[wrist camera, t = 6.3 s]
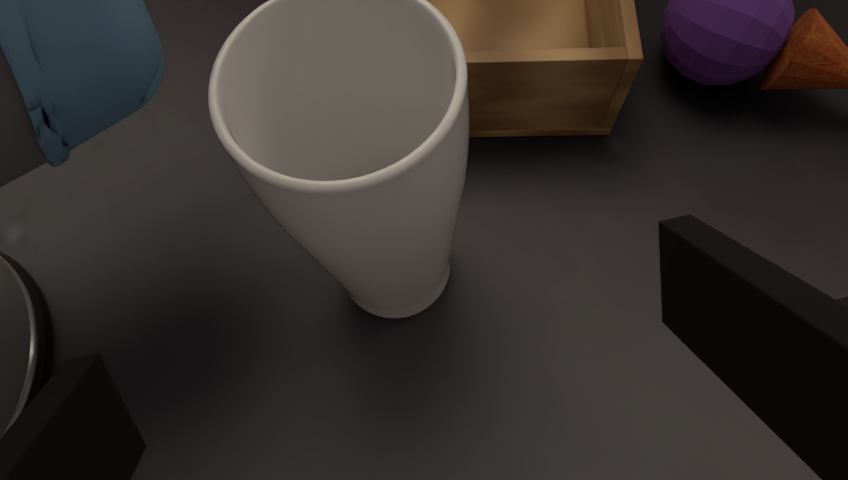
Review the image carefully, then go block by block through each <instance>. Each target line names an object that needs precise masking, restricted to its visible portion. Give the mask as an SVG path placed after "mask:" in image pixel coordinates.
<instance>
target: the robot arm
mask: <svg viewBox="0 0 848 480" xmlns="http://www.w3.org/2000/svg"><path fill="white" fill-rule="evenodd" d="M163 70H164V56H163V50H162V45H161V42H160V39H159V36H158V34H157V32H156V29H155V27H154V24H153V22H152V20H151V18H150V15H149V13H148V11H147V8H146V6H145V4H144V2H143V0H0V187H2V186H3V185H5V184H7V183H9V182H11V181H13V180H15V179H17V178H18V177H20V176H22V175H24V174H26V173H28V172H30V171H31V170H33V169H35V168H37V167H39V166H41V165H43V164H45V163H46V162H48V163H49V165H51V166H53V167H57V166H59V165H61V164H63V163H64V162H65V161H67V160H68V158H69V152H70V151H71V150H72V149H74V148H75V147H77V146H79V145H80V144H82V143H84V142H85V141H87V140H89V139H90V138H92V137H94V136H96V135H97V134H99V133H101V132H102V131H104V130H106V129H107V128H109V127H111V126H112V125H114V124H116V123H118V122H119V121H121V120H123V119H124V118H126V117H128V116H129V115H131V114H133V113H134V112H136V111H138V110H139V109H141V108H142V107H143V106H144V105H145V104H147V103H148V102H149V101H150V100H151V98H152V97H153V96H154V94H155V93H156V91H157V90H158V88H159V85H160V82H161V80H162V74H163ZM659 247H660V273H661V298H662V322H663V323H664V324H665V325H666V326H667V327H668V328H669V329H670V330H671V331H672V332H673V333H674V334H675V335H676V336H677V337H678V338H679V339H680V340H681V341H682V342H683V343H684V344H685V345H686V346H687V347H688V348H689V349H690V350H691V351H692V352H693V353H694V354H695V355H696V356H697V357H698V358H699V359H700V360H701V361H702V362H703V363H705V364H706V365H707V366H708V367H709V368H710V369H711V370H712V371H713V372H714V373H715V374H716V375H717V376H718V377H719V378H720V379H721V380H722V381H723V382H724V383H725V384H726V385H727V386H728V387H729V388H730V389H731V390H732V391H733V392H734V393H735V394H736V395H737V396H738V397H739V398H740V399H741V400H742V401H743V402H744V403H745V404H746V405H747V406H748V407H749V408H750V409H751V410H752V411H753V412H754V413H755V414H756V415H757V416H758V417H759V418H760V419H761V420H762V421H763V422H764V423H765V424H766V425H767V426H768V427H769V428H770V429H771V430H772V431H773V432H774V433H775V434H776V435H777V436H778V437H779V438H780V439H781V440H782V441H783V442H784V443H785V444H787V445H788V446H789V447H790V448H791V449H792V450H793V451H794V452H795V453H796V454H797V455H798V456H799V457H800V458H801V459H802V460H803V461H804V462H805V463H806V464H807V465H808V466H809V467H810V468H811V469H812V470H813V471H814V472H815V473H816V474H817V475H818V476H819V477H820V478H821V479H822V480H848V297H845V298H841V299H836V300H835V299H833V298H832V297H830V296H828V295H827V294H825V293H823V292H821V291H820V290H818V289H816V288H815V287H813V286H811V285H810V284H808V283H806V282H804V281H803V280H801V279H799V278H798V277H796V276H794V275H792V274H791V273H789V272H787V271H786V270H784V269H782V268H781V267H779V266H777V265H775V264H774V263H772V262H770V261H769V260H767V259H765V258H764V257H762V256H760V255H758V254H757V253H755V252H753V251H752V250H750V249H748V248H746V247H745V246H743V245H741V244H740V243H738V242H736V241H735V240H733V239H731V238H729V237H728V236H726V235H724V234H723V233H721V232H719V231H718V230H716V229H714V228H712V227H711V226H709V225H707V224H706V223H704V222H702V221H700V220H699V219H697V218H695V217H694V216H692V215H690V214H689V215H685V216H681V217H677V218H672V219H668V220H664V221H660V222H659ZM51 360H52V331H51V324H50V318H49V314H48V310H47V307H46V304H45V301H44V299H43V297H42V294H41V292H40V290H39V288H38V287H37V285H36V284H35V282H34V280H33V279H32V278H31V276H30V275H29V274H28V273H27V272H26V270H25V269H23V268H22V267H21V266H20V265H19V264H18V263H17V262H16V261H14V260H13V259H12V258H10V257H9V256H7V255H6V254H4V253H2V252H0V480H130V479H131V477H132V475H133V473H134V471H135V469H136V467H137V465H138V463H139V461H140V459H141V456H142V454H143V452H144V450H145V448H146V444H145V443H144V441H143V439H142V437H141V435H140V433H139V431H138V429H137V427H136V425H135V423H134V421H133V419H132V417H131V415H130V413H129V411H128V409H127V407H126V405H125V403H124V401H123V399H122V397H121V396H120V394H119V392H118V390H117V388H116V386H115V384H114V382H113V380H112V378H111V376H110V374H109V372H108V370H107V368H106V366H105V364H104V362H103V360H102V358H101V356H100V354H99V353H98V354H93V355H89V356H85V357H81V358H76V359H72V360H68V361H65V362H64V363H63V364H62V365H61V367H60V368H59V369H58V370H57V371H56V373H55V374H54V375H53V376H52V377H51V379H50V380H49V381H48V379H49V375H50V368H51Z"/></svg>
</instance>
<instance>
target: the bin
mask: <svg viewBox="0 0 848 480" xmlns="http://www.w3.org/2000/svg"><path fill="white" fill-rule="evenodd" d="M427 1H428V2H430V3H431V4H432V5H433V6H435V7H436V8H437V9H438V10H439V11H440V12H441V13H442V14H443V15H444V16H445V17H446V19H447V20H448V21H449V23H450V24H451V25H452V27H453V28H454V30H455V32H456V33H457V35H458V37H459V40H460V42H461V44H462V47H463V50H464V54H465V58H466V64H467V76H468V78H467V81H468V97H469V137H510V136H572V135H609V134H610V132H611V130H612V127H613V125H614V123H615V121H616V118H617V116H618V114H619V112H620V109H621V107H622V105H623V103H624V101H625V98H626V96H627V94H628V92H629V89H630V87H631V85H632V83H633V81H634V78H635V76H636V74H637V72H638V70H639V67H640V65H641V63H642V61H643V53H642V47H641V41H640V34H639V28H638V22H637V16H636V10H635V4H634V0H427Z"/></svg>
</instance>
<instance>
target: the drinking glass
mask: <svg viewBox="0 0 848 480" xmlns="http://www.w3.org/2000/svg"><path fill="white" fill-rule="evenodd" d="M467 78H468V76H467V64H466V58H465V54H464V50H463V47H462V44H461V42H460V40H459V37H458V35H457V33H456V32H455V30H454V28H453V27H452V25H451V24H450V23H449V21H448V20H447V19H446V17H445V16H444V15H443V14H442V13H441V12H440V11H439V10H438V9H437V8H436V7H435V6H433V5H432V4H431V3H430V2H428V1H427V0H268V1H267V2H265V3H264V4H262V5H261V6H259V7H258V8H257V9H255V10H254V11H253V12H251V13H250V14H249V15H248V16H247V17H246V18H245V19H243V20H242V21H241V22H240V24H239V25H238V26H237V27H236V28H235V29H234V30H233V31H232V33H231V34H230V35H229V37H228V38H227V40H226V41H225V43H224V44H223V46H222V47H221V49H220V51H219V53H218V55H217V57H216V60H215V62H214V65H213V68H212V72H211V75H210V81H209V87H208V104H209V112H210V117H211V121H212V124H213V127H214V130H215V132H216V134H217V136H218V138H219V140H220V142H221V143H222V145H223V147H224V148H225V150H226V151H227V153H228V154H229V156H230V158H231V159H232V161H233V162H234V164H235V166H236V167H237V169H238V170H239V172H240V173H241V175H242V177H243V178H244V180H245V181H246V183H247V184H248V186H249V187H250V189H251V190H252V192H253V193H254V194H255V196H256V197H257V198H258V200H259V201H260V202H261V204H262V205H263V206H264V207H265V209H266V210H267V211H268V212H269V214H270V215H271V216H272V217H273V218H274V220H275V221H276V222H277V223H278V224H279V225H280V226H281V227H282V229H283V230H284V231H285V232H286V233H287V234H288V235H289V236H290V237H291V238H292V239H293V240H294V241H295V242H296V243H298V244H299V245H300V246H301V247H302V248H303V249H304V250H305V251H306V252H307V253H308V254H309V255H310V256H311V257H312V258H313V259H314V260H315V261H317V262H318V263H319V264H320V265H321V266H322V267H323V268H324V269H325V270H326V271H327V272H328V273H329V274H330V275H331V276H332V277H333V278H334V279H335V280H336V281H337V282H339V283H340V284H341V285H342V286H343V287H344V289H345V290H346V291H347V293H348V294H349V296H350V297H351V298H352V299H353V301H354V302H355V303H356V304H357V305H358V306H360V307H361V308H362V309H364V310H365V311H367V312H369V313H371V314H373V315H376V316H379V317H384V318H405V317H409V316H412V315H415V314H417V313H420V312H421V311H423V310H425V309H426V308H428V307H429V306H430V305H432V304H433V303H434V302H435V301H436V300H437V299H438V297H439V296H440V295H441V293H442V292H443V290H444V288H445V286H446V284H447V281H448V278H449V274H450V265H451V262H450V255H451V249H452V244H453V238H454V233H455V228H456V223H457V218H458V214H459V209H460V204H461V199H462V194H463V188H464V183H465V177H466V171H467V163H468V150H469V97H468V81H467Z"/></svg>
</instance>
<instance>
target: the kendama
mask: <svg viewBox="0 0 848 480" xmlns="http://www.w3.org/2000/svg"><path fill="white" fill-rule="evenodd" d="M794 16H795V11H794V6H793V2H792V0H670V1H669V3H668V5H667V7H666V9H665V11H664V13H663V18H662V26H661V34H660V39H661V42H662V45H663V49H664V52H665V55H666V58H667V60H668V61H669V62H670V63H671V64H672V65H673V66H674V67H675V68H676V69H677V70H678V71H679V73H680V74H681V75H683V76H685V77H687V78H689V79H692V80H694V81H696V82H699V83H701V84H704V85H731V84H733V83H736V82H739V81H742V80H744V79H747V78H750V77H753V76H755V75H756V74H757V73H759V72H760V71H761V70H762V69H764V68H765V67H766V68H765V70H764V73H763V75H762V78H761V80H760V89H762V90H782V89H836V88H848V48H847V46H846V45H845V44H844V43H843V42H842V40H841V39H840V38H839V37H838V35H837V34H836V33H835V32H834V30H833V29H832V28H831V27H830V25H829V24H828V23H827V22H826V20H825V19H824V18H823V17H822V16H821V14H820V13H819V12H818V11H817V9H816V8H811V9H809V10H808V11H807V12H806V13H804V14H803V15H802V16H801V17H800V18H799V19H798V21H797V22H796V23H795V24H794V25H793V26H792V24H793V20H794Z"/></svg>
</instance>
